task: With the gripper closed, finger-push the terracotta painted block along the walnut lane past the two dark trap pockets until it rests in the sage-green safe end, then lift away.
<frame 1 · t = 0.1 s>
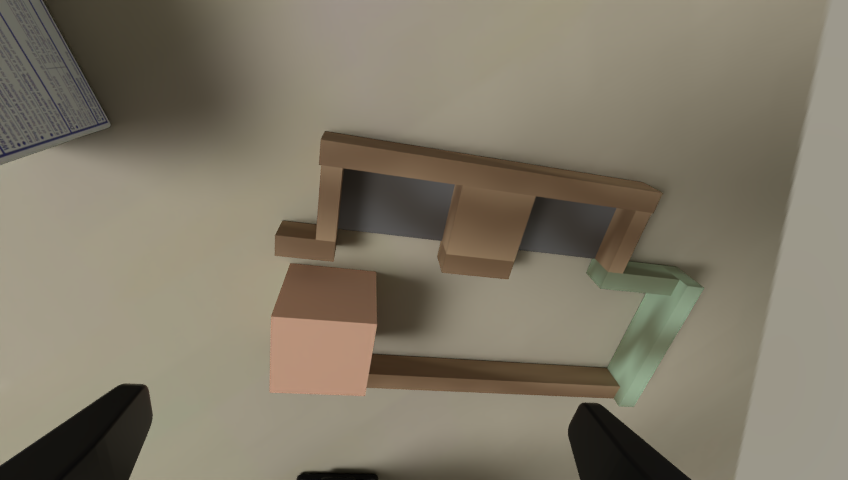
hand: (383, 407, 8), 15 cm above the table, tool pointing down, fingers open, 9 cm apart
medicine box: (19, 42, 17), on the table
block: (330, 301, 24), on the table
trap lane: (469, 313, 26), on the table
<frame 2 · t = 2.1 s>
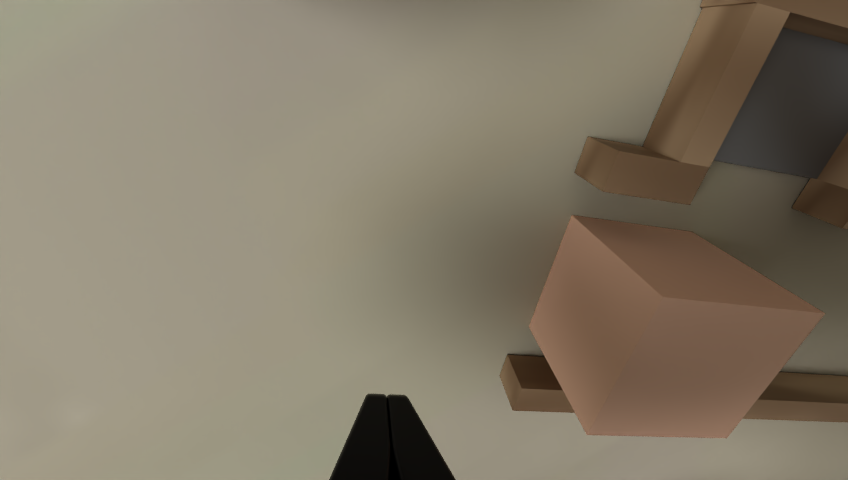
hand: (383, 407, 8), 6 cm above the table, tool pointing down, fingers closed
block: (606, 279, 15), on the table
trap lane: (792, 301, 17), on the table
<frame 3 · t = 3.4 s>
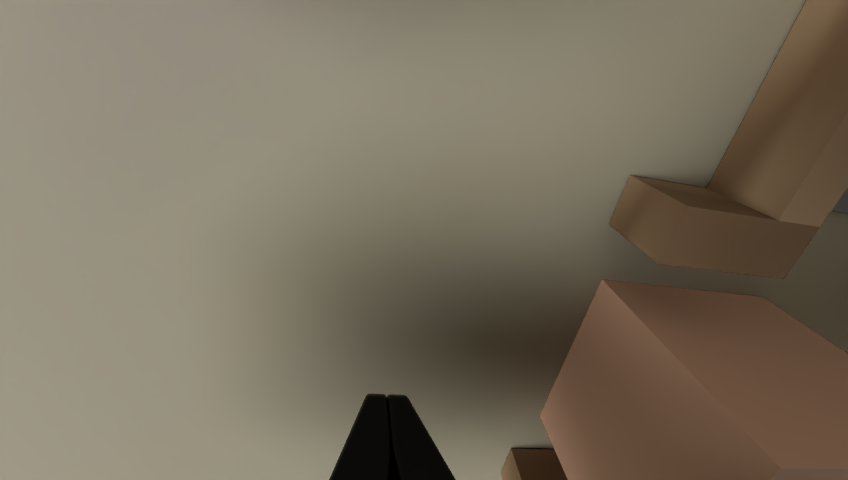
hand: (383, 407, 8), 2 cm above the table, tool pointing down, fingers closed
block: (643, 357, 12), on the table
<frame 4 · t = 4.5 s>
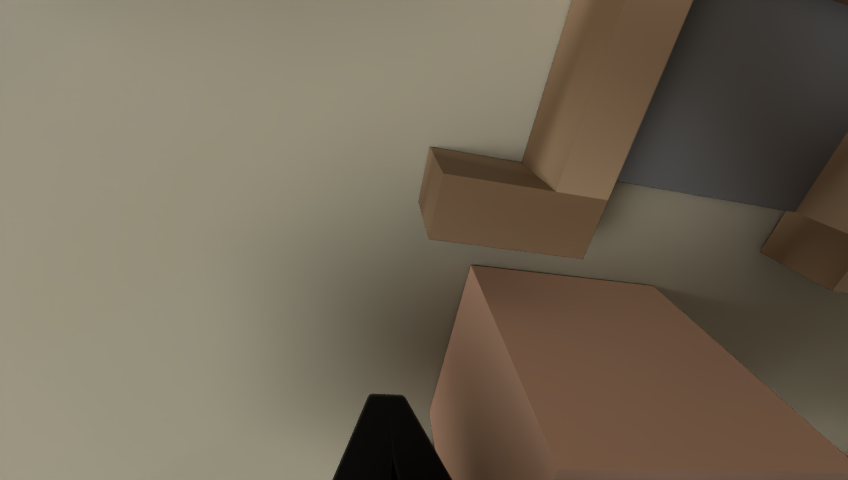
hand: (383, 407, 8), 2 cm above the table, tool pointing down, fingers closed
block: (535, 352, 11), on the table, touching gripper
trap lane: (766, 373, 12), on the table
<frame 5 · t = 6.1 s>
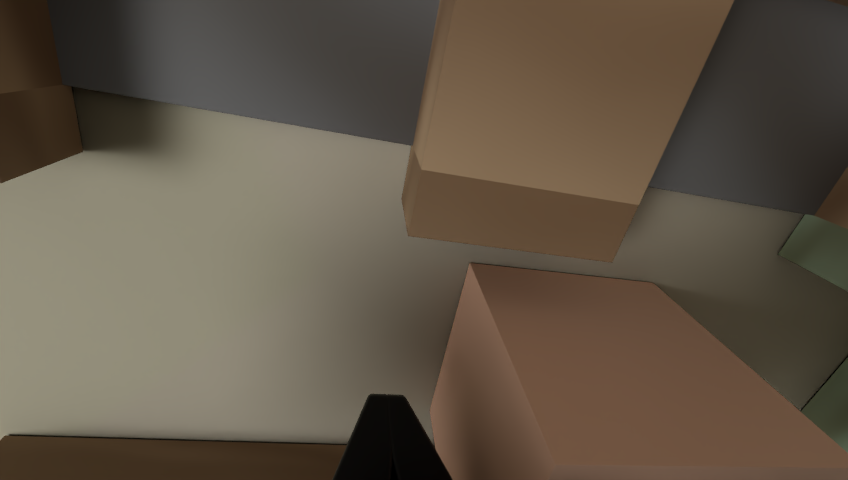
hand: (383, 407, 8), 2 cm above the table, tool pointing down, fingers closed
block: (534, 350, 11), on the table, touching gripper
trap lane: (485, 351, 11), on the table
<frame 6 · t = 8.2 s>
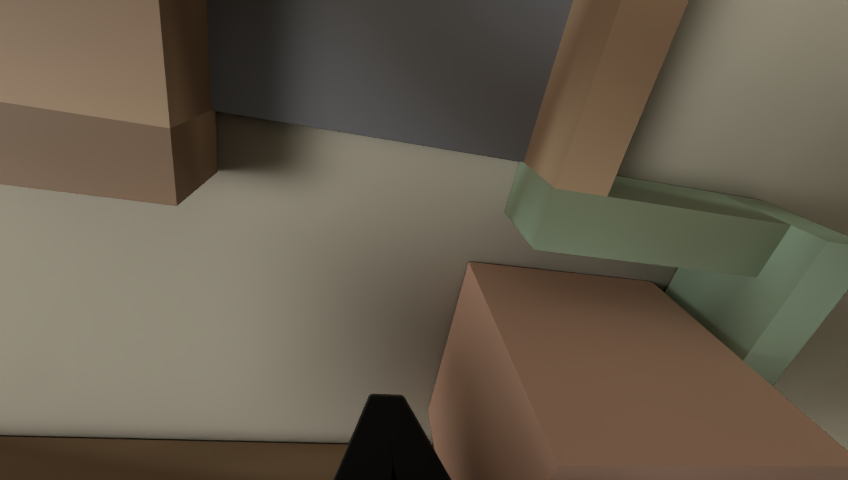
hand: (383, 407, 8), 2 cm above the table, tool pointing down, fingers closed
block: (533, 349, 11), on the table, touching gripper
trap lane: (178, 327, 9), on the table
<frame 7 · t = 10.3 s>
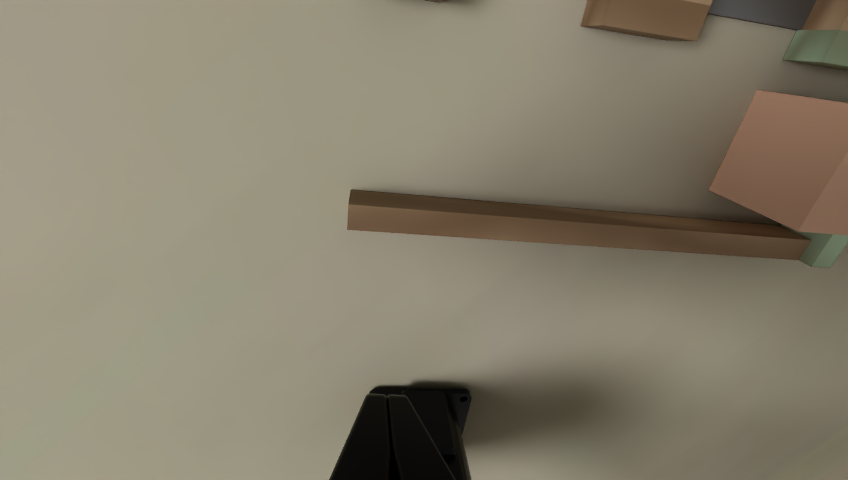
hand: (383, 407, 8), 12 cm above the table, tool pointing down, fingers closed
block: (772, 147, 20), on the table
trap lane: (612, 131, 19), on the table
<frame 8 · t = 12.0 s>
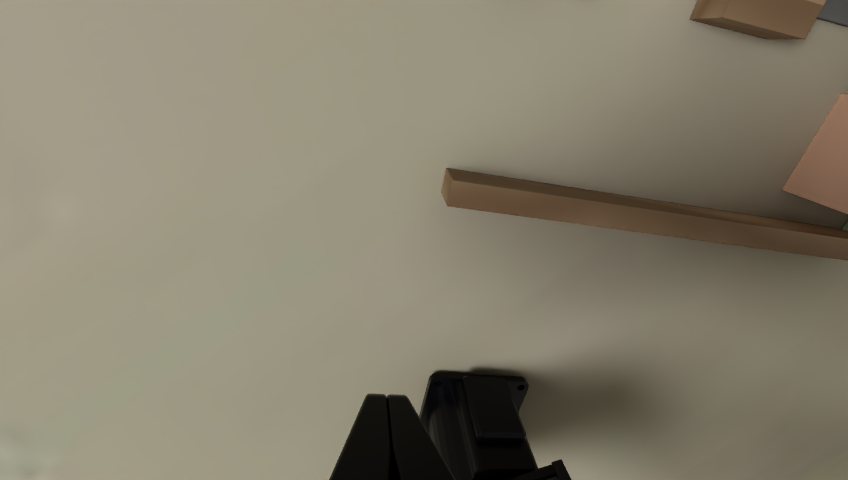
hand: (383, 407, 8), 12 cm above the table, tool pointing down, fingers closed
block: (845, 151, 21), on the table
trap lane: (702, 125, 19), on the table
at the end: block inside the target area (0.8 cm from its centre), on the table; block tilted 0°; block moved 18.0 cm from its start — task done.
